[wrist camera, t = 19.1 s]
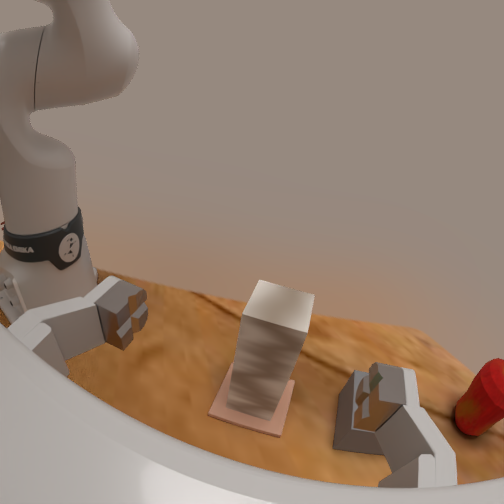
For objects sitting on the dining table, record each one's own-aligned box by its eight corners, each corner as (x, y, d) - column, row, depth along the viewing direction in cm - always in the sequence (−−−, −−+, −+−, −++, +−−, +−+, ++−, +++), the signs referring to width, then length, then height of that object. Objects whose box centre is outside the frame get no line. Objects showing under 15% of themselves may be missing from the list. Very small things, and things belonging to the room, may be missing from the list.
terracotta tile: (207, 415, 27) (208, 413, 27) (231, 365, 34) (232, 362, 34) (279, 437, 26) (281, 435, 26) (293, 383, 33) (294, 380, 33)
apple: (488, 412, 27) (535, 359, 21) (480, 453, 21) (539, 400, 16) (451, 391, 32) (496, 334, 26) (439, 430, 26) (495, 373, 20)
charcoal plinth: (332, 448, 25) (351, 429, 23) (339, 394, 32) (354, 370, 29) (395, 455, 24) (419, 436, 21) (394, 404, 30) (413, 381, 28)
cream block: (225, 407, 28) (242, 313, 21) (239, 375, 32) (259, 279, 26) (270, 421, 27) (307, 332, 20) (280, 387, 31) (314, 294, 25)
